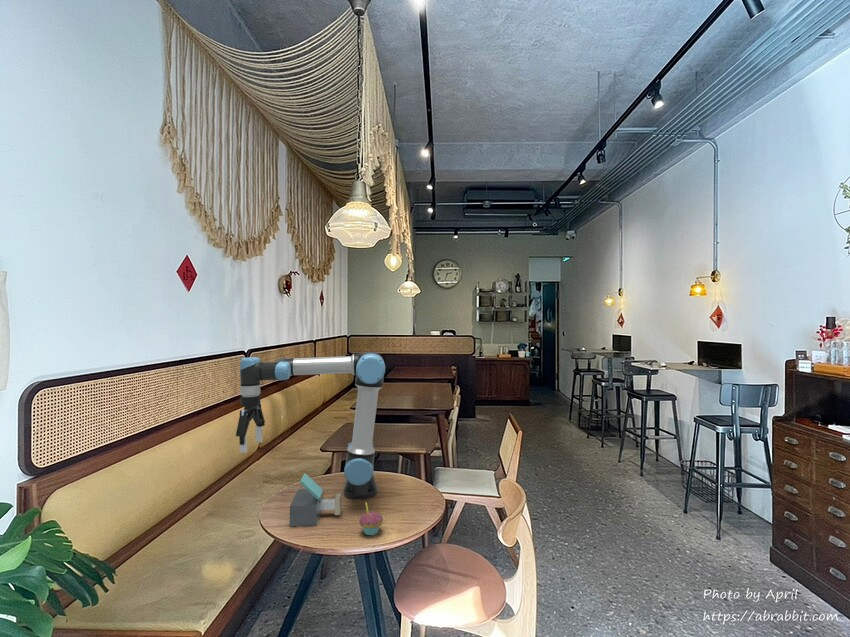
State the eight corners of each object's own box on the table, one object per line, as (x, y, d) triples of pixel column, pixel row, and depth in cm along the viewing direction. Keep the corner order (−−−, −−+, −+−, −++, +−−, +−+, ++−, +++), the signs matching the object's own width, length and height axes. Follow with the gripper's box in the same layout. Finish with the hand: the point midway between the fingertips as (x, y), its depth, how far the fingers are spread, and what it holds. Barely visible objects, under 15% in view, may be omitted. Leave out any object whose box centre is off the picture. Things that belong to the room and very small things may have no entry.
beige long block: (341, 508, 175) (341, 493, 175) (339, 514, 169) (339, 499, 169) (305, 509, 174) (305, 494, 174) (302, 516, 168) (302, 501, 168)
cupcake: (361, 540, 153) (361, 506, 153) (358, 528, 161) (357, 497, 161) (384, 536, 156) (384, 504, 155) (380, 525, 164) (380, 494, 164)
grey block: (322, 507, 179) (322, 488, 179) (316, 525, 163) (316, 505, 163) (298, 508, 178) (298, 488, 178) (289, 527, 163) (289, 506, 162)
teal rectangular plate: (321, 491, 175) (322, 489, 175) (318, 500, 167) (319, 498, 167) (303, 474, 175) (305, 473, 175) (299, 482, 167) (301, 480, 167)
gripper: (255, 389, 188) (256, 437, 188) (225, 401, 163) (226, 457, 163) (272, 389, 187) (273, 438, 188) (244, 401, 162) (245, 457, 163)
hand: (251, 447), depth 175 cm, fingers open, 13 cm apart
